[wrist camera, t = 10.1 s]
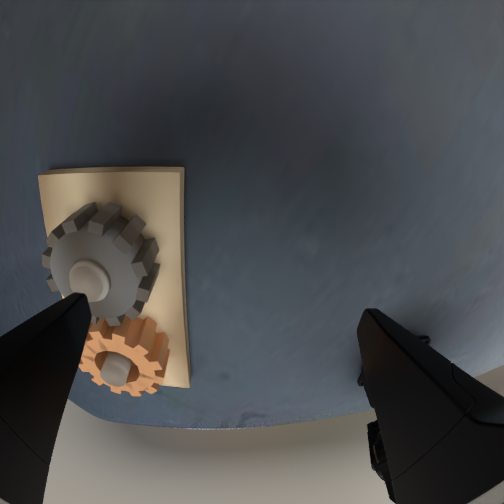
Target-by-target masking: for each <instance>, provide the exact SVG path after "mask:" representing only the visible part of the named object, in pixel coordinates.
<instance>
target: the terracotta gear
mask: <svg viewBox="0 0 504 504" xmlns="http://www.w3.org/2000/svg"><path fill="white" fill-rule="evenodd" d="M156 326H157V323H156V322H155V321H154V320H153V319H151V318H150V317H149V316H148V317H147V318H145V319H144V320H142V319H140V318H138V317H136V318H135V319H134V320H133V321H132V320H131V319H130V318H129V317H127V316H126V315H125V317H124V320H123V322H122V324H121V325H118V326H109V324H108V322H107V321H106V319H105V318H99V320H98V322H97V324H94V323H90V327H89V330H88V334H87V338H86V342H85V346H84V350H83V353H82V357H81V360H80V363H79V367H80V369H81V370H82V371H83V372H90V373H91V374H92V375H93V376H92V379H91V380H92V381H94V382H95V383H97V384H98V385H102V384H103V383H104V384H106V385H108V386H110V387H111V391H112V392H115V393H119V394H121V392H122V390H123V391H129V392H130V394H131V395H132V396H142V393H143V390H145V391H147V392H148V393H150V394H152V393H154V392H156V391H158V387H159V384H161V385H163V381H164V377H165V372H166V367H167V363H168V358H169V353H170V349H167V348H168V344H169V340H168V337H167V335H166V333H157V332H156V331H155V330H156ZM109 351H112V352H118V353H120V354H122V355H124V356H126V357H128V358H130V359H131V360H132V364H131V367H130V370H129V373H128V377H127V380H126V383H125V385H124V386H121V387H116V386H112V385H110V384H108V383H106V382H105V381H104V380H103V379H102V378H101V376H100V372H101V369H102V367H103V364H104V362H105V359H106V357H107V354H108V352H109Z"/></svg>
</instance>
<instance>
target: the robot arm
mask: <svg viewBox="0 0 504 504" xmlns="http://www.w3.org/2000/svg"><path fill="white" fill-rule="evenodd" d="M91 319H92V314H91V310H90V306H89V302H88V298H87V296H86V294H84V293H79V292H74V293H72V294H70V295H68V296H67V297H65V298H63V299H62V300H60V301H58V302H56V303H55V304H53V305H51V306H50V307H48V308H46V309H45V310H43V311H41V312H40V313H38V314H36V315H35V316H33V317H31V318H30V319H28V320H27V321H25V322H23V323H22V324H20V325H18V326H17V327H15V328H14V329H12V330H10V331H9V332H7V333H6V334H4V335H3V336H1V337H0V504H43V498H44V492H45V487H46V481H47V476H48V472H49V465H50V462H51V457H52V453H53V449H54V444H55V441H56V437H57V433H58V429H59V426H60V422H61V419H62V415H63V412H64V408H65V405H66V402H67V399H68V396H69V392H70V389H71V386H72V383H73V380H74V377H75V375H76V372H77V369H78V366H79V363H80V360H81V357H82V353H83V350H84V346H85V342H86V338H87V334H88V330H89V327H90V323H91ZM357 337H358V342H359V347H360V352H361V358H362V363H363V369H364V370H363V372H362V374H361V376H360V378H359V380H358V385H359V386H364V389H365V391H366V394H367V397H368V400H369V403H370V406H371V407H372V408H374V409H375V412H376V416H377V420H376V421H374V422H371V423H369V424H367V428H368V441H369V450H370V458H371V466H372V469H373V470H374V471H376V473H377V474H378V476H379V477H380V478H381V479H382V480H384V481H385V484H386V487H387V490H388V494H389V498H390V499H391V500H392V501H393V502H394V503H395V504H504V397H503V396H501V395H500V394H498V393H496V392H495V391H493V390H492V389H490V388H489V387H487V386H485V385H484V384H482V383H481V382H479V381H478V380H476V379H475V378H473V377H471V376H470V375H469V374H467V373H466V372H464V371H463V370H462V369H460V368H459V367H457V366H456V365H455V364H453V363H451V361H449V360H448V359H447V358H445V357H444V356H442V355H441V354H440V353H438V352H437V351H436V350H434V349H433V348H431V347H430V346H429V343H430V341H431V339H430V338H429V337H428V336H423V337H416V336H415V335H413V334H412V333H411V332H409V331H408V330H406V329H405V328H404V327H402V326H401V325H399V324H398V323H397V322H395V321H394V320H392V319H391V318H390V317H388V316H387V315H385V314H384V313H382V312H381V311H380V310H378V309H376V308H367V309H365V310H364V312H363V314H362V317H361V319H360V322H359V325H358V328H357Z"/></svg>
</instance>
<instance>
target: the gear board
mask: <svg viewBox="0 0 504 504" xmlns="http://www.w3.org/2000/svg"><path fill="white" fill-rule="evenodd" d="M184 168H185V167H91V168H70V169H54V170H48V171H46V172H44V173H42V174H40V175H38V179H39V188H40V196H41V203H42V209H43V216H44V221H45V227H46V232H47V239H46V241H45V242H46V243H47V244H48V245H49V248H48V249H47V250H46V251H44V252H43V253H42V266H43V267H45V268H48V269H50V270H51V273H52V274H51V275H50V276H49V277H48V278H47V280H46V281H47V283H48V285H49V287H50V289H51V291H52V292H54V291H60V292H61V294H62V297H63V298H65V297H67V296H68V295H70V294H72V293H74V292H79V293H84V294H86V296H87V298H88V302H89V306H90V310H91V314H92V319H91V323H94V324H97V322H98V320H99V318H105V319H106V321H107V322H108V324H109V326H118V325H121V324H122V322H123V320H124V317H125V315H126V316H127V317H129V318H130V319H131V320H132V321H133V320H134V319H135V318H136V317H138V318H140V319H142V320H144V319H145V318H147V317H148V316H149V317H150V318H151V319H153V320H154V321H155V322H156V323H157V326H156V330H155V331H156V332H157V333H166V335H167V337H168V340H169V344H168V348H167V349H170V353H169V358H168V363H167V367H166V372H165V377H164V381H163V385H165V386H174V387H184V388H190V382H191V366H190V354H189V341H188V326H187V308H186V287H185V256H184ZM131 364H132V360H131V359H130V358H128V357H126V356H124V355H122V354H120V353H118V352H112V351H109V352H108V354H107V357H106V359H105V362H104V364H103V367H102V369H101V372H100V376H101V378H102V379H103V380H104V381H105V382H106V383H108V384H110V385H112V386H116V387H121V386H124V385H125V383H126V380H127V377H128V373H129V370H130V367H131ZM90 374H91V373H90ZM159 385H161V384H159Z"/></svg>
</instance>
